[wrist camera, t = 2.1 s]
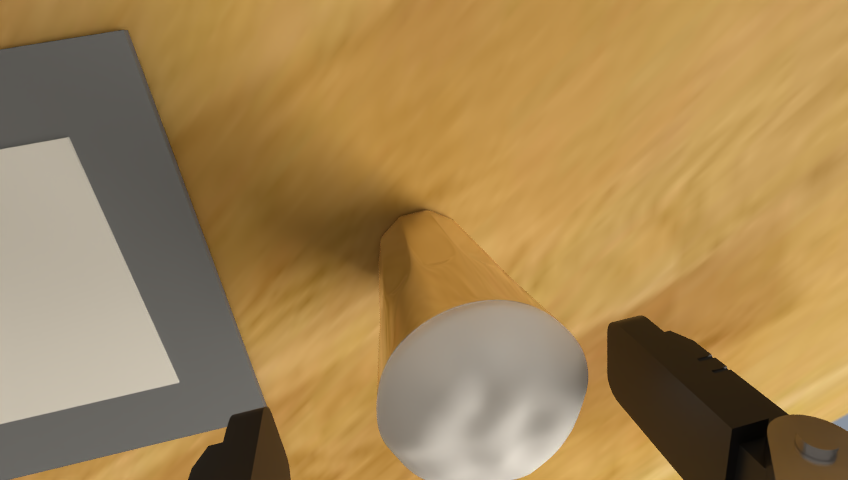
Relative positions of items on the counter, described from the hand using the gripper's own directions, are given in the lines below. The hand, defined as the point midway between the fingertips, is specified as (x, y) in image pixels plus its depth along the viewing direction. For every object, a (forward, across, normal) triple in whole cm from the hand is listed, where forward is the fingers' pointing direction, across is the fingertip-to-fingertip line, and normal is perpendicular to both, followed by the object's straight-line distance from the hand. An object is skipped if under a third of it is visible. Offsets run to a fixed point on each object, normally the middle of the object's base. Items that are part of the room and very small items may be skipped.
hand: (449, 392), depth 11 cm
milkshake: (+7, -1, 0) cm, 7 cm away
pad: (+7, +13, -2) cm, 15 cm away
